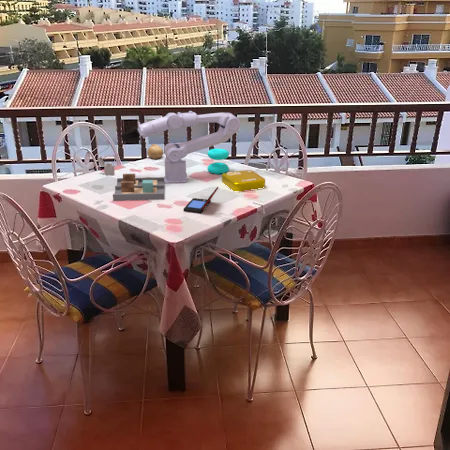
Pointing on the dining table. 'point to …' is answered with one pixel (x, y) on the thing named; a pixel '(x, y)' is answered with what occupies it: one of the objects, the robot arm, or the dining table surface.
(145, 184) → the teal cube
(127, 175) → the broken strip front
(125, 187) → the oak strip
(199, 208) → the handheld game console
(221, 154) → the donuts
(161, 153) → the onion
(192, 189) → the dining table surface
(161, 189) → the slate board
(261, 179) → the element tile
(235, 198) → the dining table surface
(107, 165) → the lighter
